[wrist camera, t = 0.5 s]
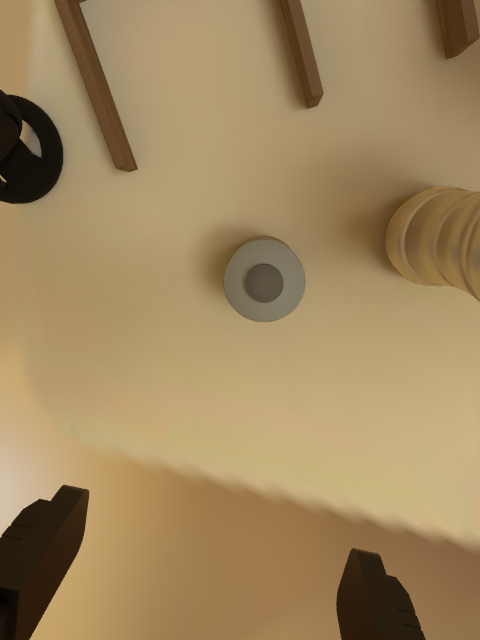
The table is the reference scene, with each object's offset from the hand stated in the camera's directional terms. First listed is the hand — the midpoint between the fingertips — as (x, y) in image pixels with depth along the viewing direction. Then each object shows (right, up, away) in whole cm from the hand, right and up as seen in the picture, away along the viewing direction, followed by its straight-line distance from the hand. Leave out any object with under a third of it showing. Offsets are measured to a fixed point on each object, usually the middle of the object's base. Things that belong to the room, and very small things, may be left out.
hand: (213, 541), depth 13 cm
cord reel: (+3, +10, +20) cm, 23 cm away
